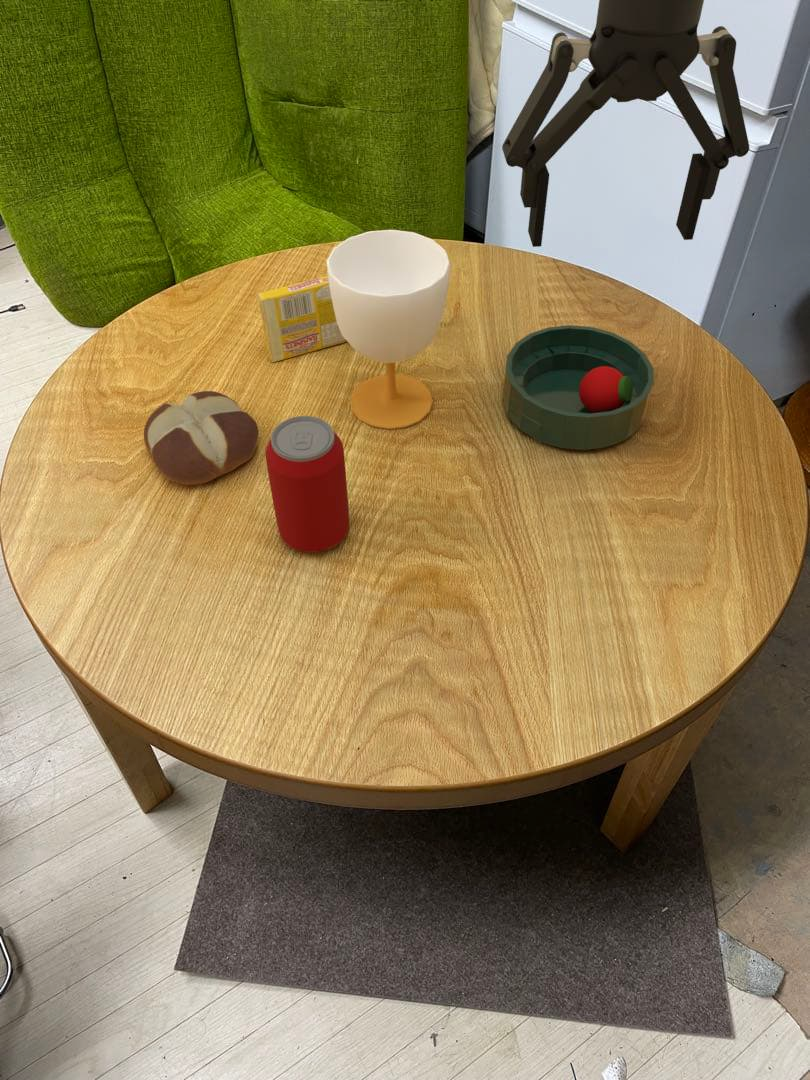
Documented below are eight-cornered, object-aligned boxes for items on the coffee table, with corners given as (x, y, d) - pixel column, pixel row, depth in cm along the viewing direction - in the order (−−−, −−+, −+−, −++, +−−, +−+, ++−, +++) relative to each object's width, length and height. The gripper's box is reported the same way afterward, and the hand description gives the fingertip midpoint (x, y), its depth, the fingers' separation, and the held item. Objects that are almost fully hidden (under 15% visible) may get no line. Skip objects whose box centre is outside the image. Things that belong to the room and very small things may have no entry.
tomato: (594, 397, 95) (640, 395, 92) (579, 425, 92) (626, 423, 89) (582, 358, 92) (630, 354, 89) (567, 385, 89) (615, 382, 86)
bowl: (660, 384, 96) (670, 347, 92) (619, 471, 87) (629, 434, 83) (532, 348, 101) (536, 311, 97) (480, 427, 92) (483, 390, 88)
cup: (422, 359, 99) (424, 220, 87) (461, 422, 92) (469, 281, 79) (324, 381, 97) (310, 242, 84) (356, 449, 90) (347, 307, 77)
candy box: (394, 318, 105) (392, 256, 98) (401, 328, 103) (400, 266, 97) (266, 353, 100) (256, 291, 94) (272, 363, 99) (262, 301, 93)
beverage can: (351, 504, 84) (344, 409, 75) (348, 558, 80) (340, 464, 71) (282, 505, 84) (266, 410, 75) (275, 558, 80) (258, 464, 71)
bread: (167, 500, 85) (156, 464, 81) (138, 430, 92) (127, 393, 88) (274, 466, 88) (268, 429, 84) (239, 400, 95) (232, 363, 91)
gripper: (809, -60, 65) (732, 209, 81) (478, -49, 64) (467, 220, 80) (849, -29, 60) (759, 250, 76) (491, -17, 59) (476, 264, 75)
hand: (609, 236), depth 78 cm, fingers open, 13 cm apart
